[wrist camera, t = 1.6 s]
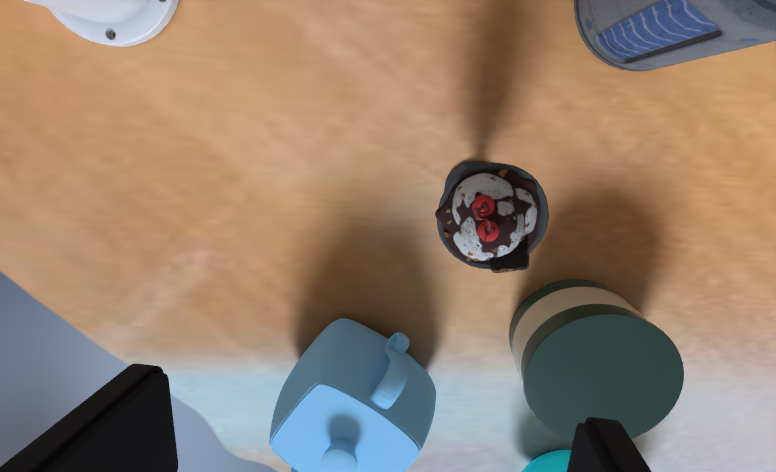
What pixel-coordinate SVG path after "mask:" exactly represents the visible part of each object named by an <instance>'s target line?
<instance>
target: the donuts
mask: <svg viewBox="0 0 776 472" xmlns="http://www.w3.org/2000/svg"><path fill="white" fill-rule="evenodd" d="M570 454H571V450H557V451H552V452H549V453H546V454H543V455H541V456H539V457H537V458H536V459H534V460H533V461H532V462H530V463H529V464H528V465H527V466H526V467H525V468H524V470H523V471H522V472H567V468H568V463H569V458H570Z"/></svg>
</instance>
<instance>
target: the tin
mask: <svg viewBox="0 0 776 472" xmlns="http://www.w3.org/2000/svg"><path fill="white" fill-rule="evenodd" d="M509 341H510V347H511V351H512V354H513V357H514V361H515V364H516V367H517V369H518V372H519V375H520V378H521V380H522V383H523V387H524V393H525V397H526V400H527V402H528V405H529V407H530V409H531V410H532V412H533V414H534V415H535V416H536V418H537V419H538V420H539V421H540V422H541V423H542V424H543V425H544V426H545V427H547V428H548V429H549V430H551V431H552V432H554V433H556V434H558V435H560V436H561V437H564V438H567V439H569V440H574V435H575V431H576V427H577V425H578V423H585V420H586V419H587V418H588V417H596V418H604V419H613V420H617V421H619V422H620V423H621V424H622V426H623V427H624V429H625V430H626V432H627V434H628V435H629V437H630V438H634V437H636V436H639V435H641V434H643V433H645V432H647V431H648V430H650V429H651V428H653V427H654V426H656V425H657V424H658V423H659V422H661V421H662V420H663V419H664V418H665V417H666V416H667V415H668V414H669V412H670V411H671V410H672V408H673V407H674V405H675V404H676V402H677V400H678V398H679V396H680V393H681V390H682V386H683V380H684V370H683V363H682V360H681V356H680V354H679V352H678V350H677V348H676V346H675V345H674V343H673V342H672V340H671V339H670V338H669V337H668V336H667V335H666V334H665V333H664V332H663V331H662V330H660V329H659V328H658V327H656V326H655V325H654V324H652V323H650V322H649V321H648V320H647V319H646V318H644V317H643V316H642V315H641V314H640V313H639V312H638V311H637V310H636V309H635V308H633V307H632V306H631V305H630V304H629V303H628V302H627V301H625V300H624V299H623V298H621V297H620V296H619V295H618V294H617V293H615V292H614V291H613V290H611V289H610V288H608V287H606V286H604V285H601V284H599V283H596V282H592V281H587V280H564V281H559V282H555V283H552V284H549V285H547V286H545V287H543V288H541V289H539V290H537V291H536V292H534V293H533V294H531V295H530V296H529V297H528V298H527V299H526V300H525V301H524V302H523V303H522V304H521V305H520V307H519V308H518V310H517V311H516V313H515V315H514V317H513V319H512V322H511V326H510V332H509Z"/></svg>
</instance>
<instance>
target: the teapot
mask: <svg viewBox="0 0 776 472" xmlns="http://www.w3.org/2000/svg"><path fill="white" fill-rule="evenodd" d="M409 343H410V341H409V339H408V337H407V336H406V335H405V334H403V333H400V332H397V333H395V334H393V335H392V336H391V337H390V338H389V339H387V338H386V337H384V336H383V335H381V334H379V333H377V332H375V331H374V330H372V329H370V328H368V327H366V326H364V325H362V324H360V323H358V322H355V321H353V320H350V319H346V318H341V319H338V320H336V321H334V322H332V323H331V324H330V325H328V326H327V327H326V328H325V329H324V330H323V332H322V333H321V334H320V335H319V336H318V337H317V338H316V339H315V340H314V342H313V343H312V344H311V345H310V346H309V347H308V349H307V350H306V351H305V352H304V354H303V355H302V357H301V358H300V359H299V361H298V362H297V364H296V365H295V367H294V368H293V370H292V372H291V373H290V375H289V377H288V378H287V380H286V382H285V384H284V386H283V388H282V390H281V392H280V395H279V398H278V401H277V404H276V407H275V410H274V414H273V419H272V425H271V431H270V440H269V444H270V447H271V448H272V450H273V451H274V452H275V453H276V454H277V455H278V456H279V457H280V458H281V459H282V460H283V461H285V462H286V463H287V464H288V465H290V466H291V467H292V469H291V472H405V470H406V469H407V468H408V467H409V466H410V465H411V464H412V463H413V462H414V460H415V459H416V458H417V457H418V455H419V454H420V452H421V450H422V447H423V445H424V443H425V440H426V438H427V435H428V432H429V430H430V427H431V423H432V420H433V416H434V410H435V401H436V390H435V386H434V383H433V381H432V379H431V378H430V376H429V374H428V373H427V372H426V371H425V370H424V369H423V367H422V366H421V365H420V364H419V363H417V362H416V361H415V360H414V359H413V358H412V357H411V356H410V355H408V354H407V353H406V352H405V351H406V349H407V348H408V346H409Z"/></svg>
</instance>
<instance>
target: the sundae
mask: <svg viewBox="0 0 776 472" xmlns="http://www.w3.org/2000/svg"><path fill="white" fill-rule="evenodd" d="M435 215H436V218H437V225H438V231H439V235H440V238H441V240H442V242H443V244H444V245H445V246H446V248H447V249H448V250H449V251H450V252H451V253H452V254H453V255H454V256H455V257H456V258H458V259H459V260H461V261H462V262H464V263H466V264H468V265H470V266H473V267H477V268H482V269H491V270H492V271H493V273H503V272H511V271H516V270H524V269H527V268H528V267H529V253H530V252H532V251H533V249H534V248H535V247H536V246H537V245H538V244H539V242H540V241H541V239H542V238H543V236H544V234H545V231H546V228H547V223H548V218H549V213H548V204H547V199H546V196H545V194H544V192H543V189H542V188H541V186H540V185H539V183H538V182H537V180H536V179H535V178H534V177H533V176H532V175H530V174H529V173H527V172H526V171H524V170H522V169H520V168H518V167H516V166H512V165H508V164H502V163H485V162H481V161H470V162H466V163H463V164H461V165H459V166H458V167H457V168H455V169H454V170H453V171H452V172H451V174H450V175H449V177H448V178H447V180H446V184H445V191H444V193H443V195H442V197H441V200H440V204H439V208H438V209H437V211H436V213H435Z"/></svg>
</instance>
